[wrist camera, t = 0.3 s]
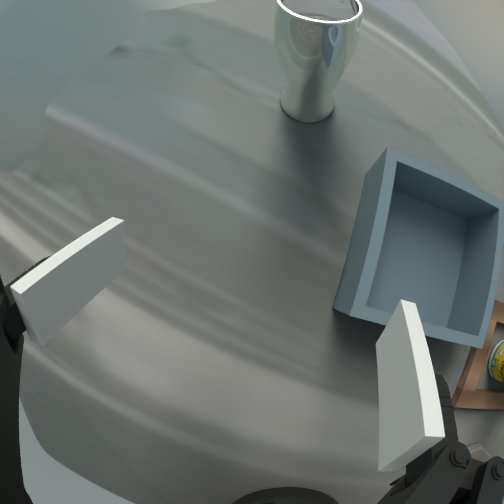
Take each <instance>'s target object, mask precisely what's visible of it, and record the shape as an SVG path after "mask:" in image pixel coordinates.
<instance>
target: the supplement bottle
mask: <svg viewBox="0 0 504 504" xmlns="http://www.w3.org/2000/svg"><path fill="white" fill-rule="evenodd" d="M489 373H490V375H491V377H492V378H494V379H496V380H498V381H500V382H503V383H504V340H502V341H500V342H499V343H498V344H497V345H496V346H495V348H494V349H493V351H492V353H491V356H490V360H489Z"/></svg>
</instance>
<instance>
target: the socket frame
mask: <svg viewBox="0 0 504 504" xmlns="http://www.w3.org/2000/svg"><path fill="white" fill-rule="evenodd" d="M497 322H498V323H501V324H504V303H501V302H498V301H496V300H494V305H493V309H492V314H491V318H490V322H489V326H488V330H487V333H486V337H485V340H484V344H483V347H482V349H480V348H476V347H472V346H471V349H470V352H469V356H468V359H467V362H466V364H465V367H464V370H463V373H462V376H461V378H460V381H459V384H458V386H457V389H456V391H455V394H454V396H453V398H452V401H451V402H452V406H454V407H458V408H473V409H501V410H504V391H492V390H482V389H475V388H476V386H477V383H478V381H479V378H480V375H481V372H482V370H483V367H484V364H485V361H486V358H487V355H488V351H489V348H490V345H491V341H492V338H493V334H494V330H495V327H496V323H497Z"/></svg>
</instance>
